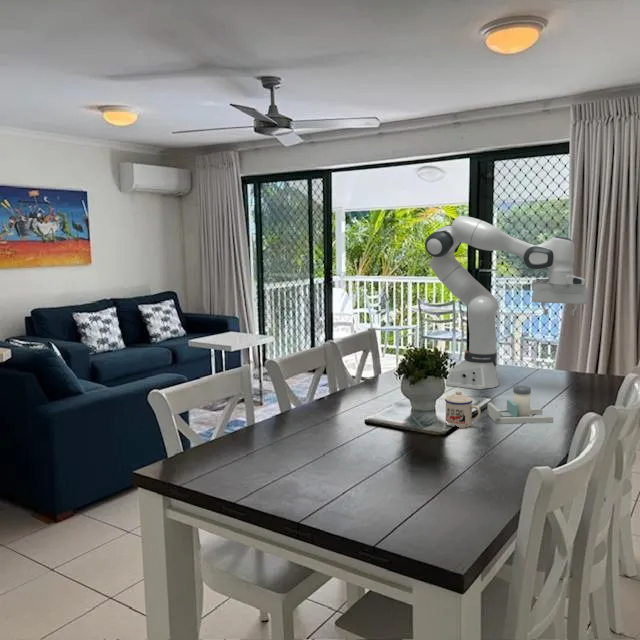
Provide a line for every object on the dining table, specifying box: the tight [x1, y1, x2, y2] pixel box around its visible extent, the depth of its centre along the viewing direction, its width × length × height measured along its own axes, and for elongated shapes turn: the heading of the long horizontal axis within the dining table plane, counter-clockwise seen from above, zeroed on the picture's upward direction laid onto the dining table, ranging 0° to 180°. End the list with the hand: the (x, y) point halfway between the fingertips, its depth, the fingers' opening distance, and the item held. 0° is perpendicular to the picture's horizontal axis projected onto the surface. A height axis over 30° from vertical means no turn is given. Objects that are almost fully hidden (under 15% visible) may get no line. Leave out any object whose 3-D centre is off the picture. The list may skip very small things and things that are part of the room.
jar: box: [512, 385, 532, 417], centre depth 211 cm, size 6×6×11 cm
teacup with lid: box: [444, 390, 481, 429], centre depth 205 cm, size 12×9×12 cm
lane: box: [487, 402, 554, 424], centre depth 212 cm, size 19×11×4 cm, turn 91°
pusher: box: [501, 399, 517, 417], centre depth 211 cm, size 4×7×6 cm, turn 1°
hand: (558, 314), depth 235 cm, fingers open, 8 cm apart
